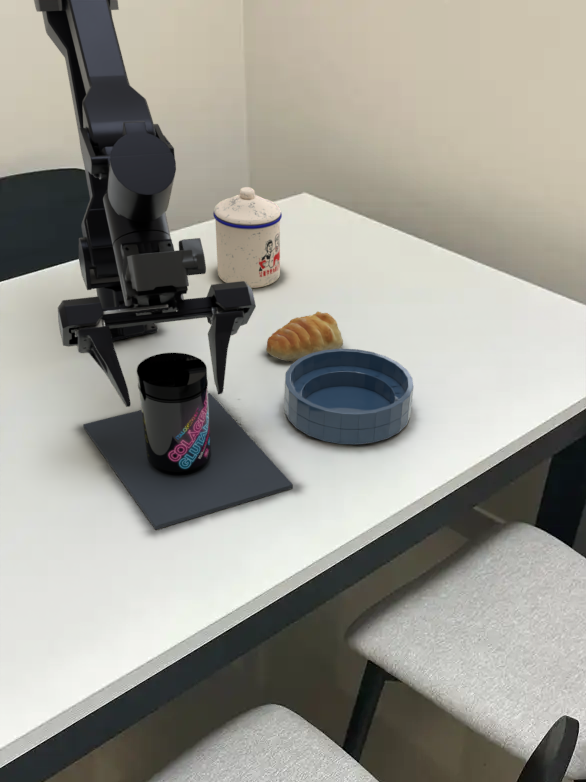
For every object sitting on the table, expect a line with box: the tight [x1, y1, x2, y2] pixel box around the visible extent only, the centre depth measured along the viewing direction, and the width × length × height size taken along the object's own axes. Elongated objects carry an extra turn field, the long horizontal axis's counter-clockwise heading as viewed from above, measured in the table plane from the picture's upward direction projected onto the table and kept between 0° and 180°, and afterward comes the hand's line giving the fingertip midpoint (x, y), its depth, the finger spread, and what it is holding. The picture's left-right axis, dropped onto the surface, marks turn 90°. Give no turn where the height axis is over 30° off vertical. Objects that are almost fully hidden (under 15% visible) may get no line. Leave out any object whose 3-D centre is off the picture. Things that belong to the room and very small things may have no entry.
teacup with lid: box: [212, 186, 283, 289], centre depth 131 cm, size 12×9×12 cm
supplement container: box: [136, 352, 211, 476], centre depth 96 cm, size 7×7×10 cm
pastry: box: [265, 311, 344, 363], centre depth 118 cm, size 9×7×4 cm
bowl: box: [284, 348, 415, 445], centre depth 108 cm, size 14×14×4 cm
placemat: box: [82, 392, 294, 530], centre depth 101 cm, size 20×15×1 cm
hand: (175, 399), depth 95 cm, fingers open, 9 cm apart
